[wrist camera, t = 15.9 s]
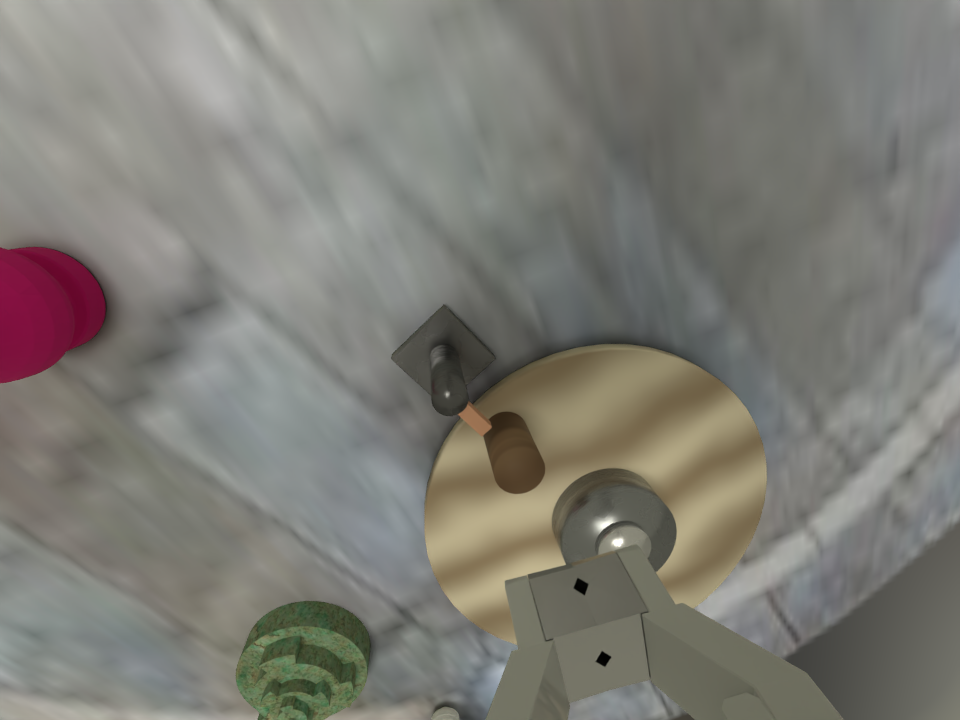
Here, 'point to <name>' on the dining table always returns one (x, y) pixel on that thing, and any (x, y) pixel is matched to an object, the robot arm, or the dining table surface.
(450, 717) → the lightbulb
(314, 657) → the decorative artifact
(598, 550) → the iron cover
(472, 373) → the pointer
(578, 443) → the turntable
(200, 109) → the dining table surface
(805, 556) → the dining table surface
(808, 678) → the robot arm
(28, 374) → the pepper mill
